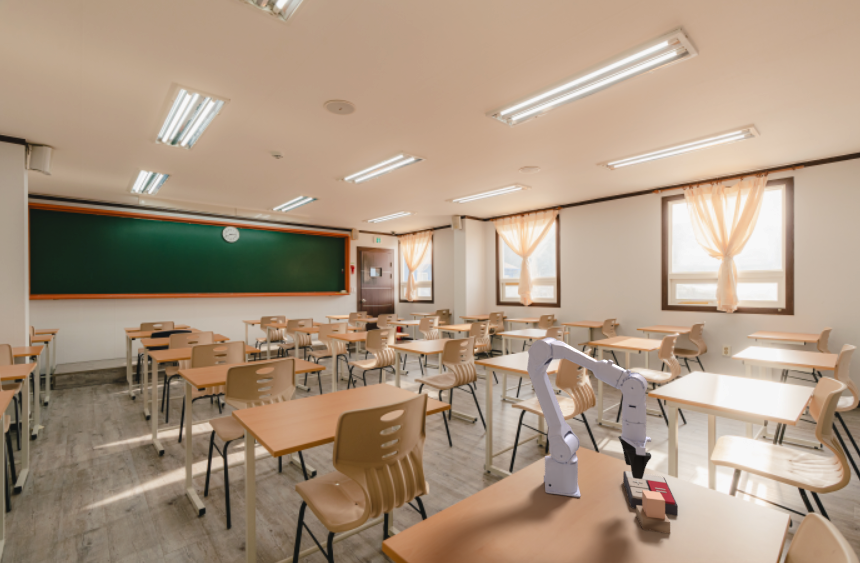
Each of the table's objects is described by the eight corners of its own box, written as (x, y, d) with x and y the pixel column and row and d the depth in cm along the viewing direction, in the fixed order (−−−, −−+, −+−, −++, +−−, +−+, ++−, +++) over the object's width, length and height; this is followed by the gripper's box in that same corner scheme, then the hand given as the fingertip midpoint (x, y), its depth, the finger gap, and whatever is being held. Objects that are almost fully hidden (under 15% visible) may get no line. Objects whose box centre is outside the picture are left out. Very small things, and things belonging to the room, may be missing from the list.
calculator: (631, 495, 104) (623, 468, 118) (630, 511, 104) (623, 482, 119) (678, 503, 101) (664, 474, 115) (678, 519, 101) (664, 488, 115)
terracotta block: (647, 516, 96) (646, 498, 96) (642, 507, 100) (642, 490, 100) (665, 519, 95) (664, 500, 95) (659, 510, 99) (659, 492, 99)
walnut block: (642, 530, 95) (642, 518, 95) (636, 516, 101) (636, 505, 101) (670, 534, 94) (670, 522, 94) (661, 520, 99) (661, 508, 99)
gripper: (659, 431, 95) (659, 486, 95) (643, 412, 109) (643, 461, 109) (627, 428, 97) (627, 482, 97) (616, 410, 111) (615, 458, 111)
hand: (633, 471), depth 103 cm, fingers open, 7 cm apart
